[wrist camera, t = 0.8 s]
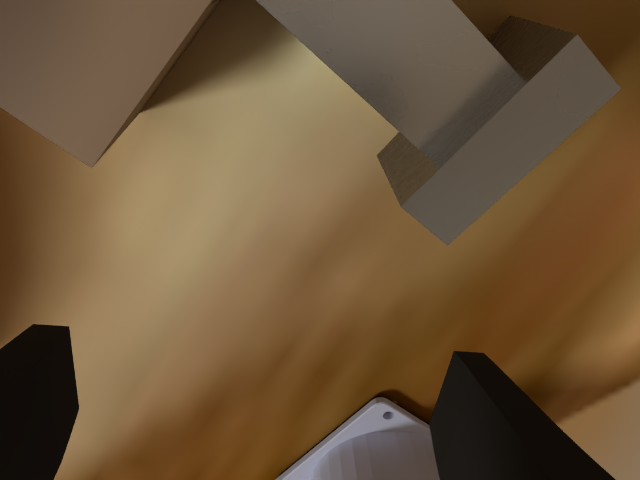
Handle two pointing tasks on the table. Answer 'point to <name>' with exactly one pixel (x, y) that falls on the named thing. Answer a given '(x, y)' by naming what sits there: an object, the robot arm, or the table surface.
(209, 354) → the table surface
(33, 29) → the walnut tunnel block
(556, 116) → the steel key pin
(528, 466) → the robot arm
